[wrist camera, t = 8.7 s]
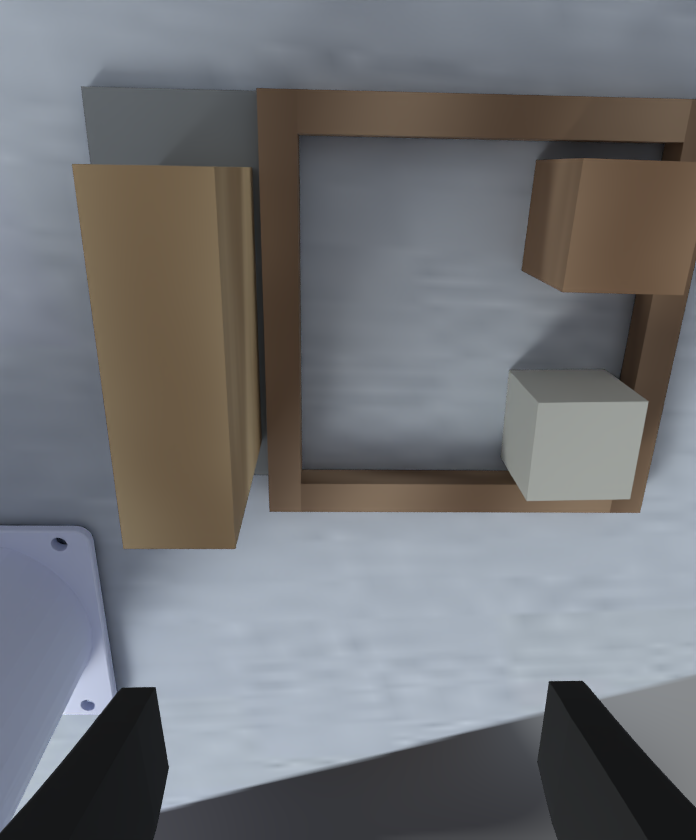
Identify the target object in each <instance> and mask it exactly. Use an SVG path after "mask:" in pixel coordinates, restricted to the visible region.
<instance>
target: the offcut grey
mask: <svg viewBox="0 0 696 840" xmlns="http://www.w3.org/2000/svg"><path fill="white" fill-rule="evenodd" d="M648 402H649V401H647V400H646V399H645V398H643V397H642V396H640V395H639V394H638V393H636V392H635V391H634V390H632V389H631V388H629V387H628V386H627V385H625V384H624V383H623V382H621V381H620V380H619V379H617V378H616V377H614V376H613V375H612V374H610V373H609V372H608V371H606V370H605V369H562V370H509V376H508V386H507V396H506V407H505V417H504V427H503V437H502V447H501V459H502V461H503V462H504V464H505V466H506V467H507V469H508V471H509V472H510V474H511V476H512V477H513V479H514V481H515V482H516V484H517V486H518V487H519V489H520V491H521V492H522V494H523V496H524V497H525V499H526V501H557V500H616V499H630V497H631V492H632V486H633V481H634V476H635V470H636V465H637V460H638V455H639V449H640V444H641V439H642V434H643V428H644V423H645V418H646V413H647V407H648Z"/></svg>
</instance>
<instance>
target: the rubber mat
mask: <svg viewBox="0 0 696 840" xmlns="http://www.w3.org/2000/svg"><path fill="white" fill-rule="evenodd" d="M81 90H82V98H83V106H84V114H85V122H86V130H87V138H88V147H89V155H90V163H91V164H103V165H169V166H216V167H252V172H253V201H254V230H255V259H256V288H257V317H258V346H259V375H260V404H261V433H262V443H261V447H260V451H259V455H258V459H257V463H256V467H255V471H254V475H268V445H267V412H266V380H265V348H264V315H263V283H262V251H261V218H260V186H259V154H258V121H257V91H241V90H201V89H161V88H121V87H81Z"/></svg>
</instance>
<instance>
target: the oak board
mask: <svg viewBox="0 0 696 840" xmlns="http://www.w3.org/2000/svg"><path fill="white" fill-rule="evenodd" d="M72 168H73V175H74V183H75V190H76V198H77V205H78V213H79V220H80V228H81V235H82V243H83V250H84V258H85V265H86V273H87V280H88V287H89V295H90V302H91V310H92V317H93V325H94V332H95V340H96V347H97V355H98V362H99V370H100V377H101V385H102V392H103V400H104V407H105V415H106V422H107V430H108V437H109V445H110V452H111V460H112V467H113V474H114V482H115V489H116V497H117V504H118V512H119V519H120V527H121V534H122V542H123V549H235V548H236V544H237V540H238V536H239V532H240V528H241V524H242V520H243V516H244V512H245V508H246V504H247V500H248V495H249V491H250V487H251V483H252V479H253V475H254V471H255V467H256V463H257V459H258V455H259V451H260V447H261V443H262V433H261V404H260V375H259V346H258V317H257V288H256V259H255V230H254V201H253V172H252V167H216V166H169V165H103V164H72Z"/></svg>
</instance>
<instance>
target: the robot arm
mask: <svg viewBox="0 0 696 840" xmlns="http://www.w3.org/2000/svg"><path fill="white" fill-rule="evenodd" d="M56 538H62V539H63V540H65V541H66V543H67V544H66V545H64V544H60V543H59V542H57V540H56ZM87 700H90V701H92V702H88V701H87ZM91 714H100V715H99V716H98V718H97V719H96V720H95V721H94V723H93V724H92V725H91V726H90V728H89V729H88V730H87V732H86V733H85V734H84V735H83V737H82V738H81V739H80V740H79V742H78V743H77V744H76V745H75V746H74V748H73V749H72V750H71V751H70V753H69V754H68V755H67V756H66V758H65V759H64V760H63V761H62V762H61V764H60V765H59V766H58V767H57V768H56V769H55V771H54V772H53V773H52V774H51V775H50V777H49V778H48V779H47V780H46V781H45V782H44V784H43V785H42V786H41V787H40V788H39V790H38V791H37V792H36V793H35V794H34V795H33V797H32V798H31V799H30V800H29V801H28V802H27V804H26V805H25V806H24V807H23V808H22V809H21V810H20V811H19V812H18V813H17V815H16V816H15V817H14V818H13V819H12V817H13V815H14V813H15V811H16V809H17V807H18V805H19V803H20V801H21V798H22V796H23V794H24V792H25V790H26V788H27V786H28V784H29V782H30V780H31V778H32V776H33V774H34V772H35V770H36V768H37V766H38V764H39V762H40V760H41V757H42V755H43V753H44V751H45V749H46V747H47V745H48V743H49V741H50V739H51V737H52V735H53V733H54V731H55V729H56V727H57V725H58V723H59V721H60V718H61V716H62V715H91ZM537 763H538V767H539V771H540V775H541V780H542V784H543V789H544V793H545V797H546V801H547V805H548V809H549V813H550V816H551V821H552V824H553V827H554V830H555V833H556V836H557V839H558V840H696V807H695V806H694V805H693V804H692V803H691V802H690V801H689V800H688V799H687V798H686V797H685V796H684V795H683V794H682V793H681V792H680V790H679V789H678V788H677V787H676V786H675V785H674V784H673V783H672V782H671V781H670V780H669V779H668V777H667V776H666V775H665V774H664V773H663V772H662V771H661V770H660V769H659V768H658V767H657V766H656V765H655V764H654V762H653V761H652V760H651V759H650V758H649V757H648V756H647V755H646V753H645V752H644V751H643V750H642V749H641V748H640V747H639V746H638V744H637V743H636V742H635V741H634V740H633V739H632V738H631V736H630V735H629V734H628V733H627V732H626V731H625V730H624V728H623V727H622V726H621V725H620V724H619V722H618V721H617V720H616V719H615V718H614V717H613V716H612V714H611V713H610V712H609V711H608V710H607V708H606V707H605V706H604V705H603V704H602V703H601V701H600V700H599V699H598V698H597V697H596V695H595V694H594V693H593V692H592V691H591V689H590V688H589V687H588V686H587V685H586V684H585V683H584V682H583V681H549V686H548V693H547V699H546V706H545V713H544V721H543V727H542V733H541V741H540V747H539V754H538V761H537ZM168 769H169V766H168V760H167V754H166V748H165V742H164V736H163V730H162V724H161V717H160V711H159V705H158V699H157V693H156V687H136V688H121V689H120V690H119V691H118V692H117V689H116V683H115V676H114V670H113V663H112V657H111V650H110V644H109V637H108V631H107V624H106V618H105V611H104V605H103V598H102V592H101V585H100V579H99V572H98V566H97V559H96V553H95V546H94V540H93V537H92V534H91V533H90V532H89V531H88V530H87V529H85V528H83V527H80V526H0V840H153V838H154V835H155V831H156V828H157V823H158V819H159V814H160V809H161V805H162V800H163V795H164V790H165V785H166V779H167V774H168ZM11 819H12V820H11Z"/></svg>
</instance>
